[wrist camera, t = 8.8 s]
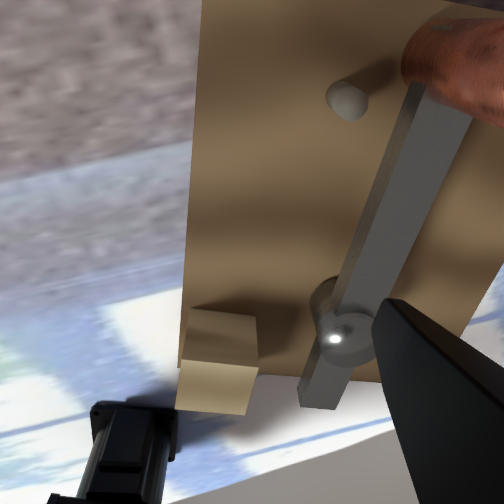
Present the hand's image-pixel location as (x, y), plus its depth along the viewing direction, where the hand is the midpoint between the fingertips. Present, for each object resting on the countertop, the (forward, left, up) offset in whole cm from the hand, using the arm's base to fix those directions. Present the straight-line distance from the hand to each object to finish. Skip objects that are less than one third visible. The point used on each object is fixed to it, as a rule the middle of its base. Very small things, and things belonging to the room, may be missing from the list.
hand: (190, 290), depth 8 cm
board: (-4, -8, -12) cm, 15 cm away
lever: (-4, -8, -11) cm, 14 cm away
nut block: (-12, -1, -11) cm, 16 cm away
